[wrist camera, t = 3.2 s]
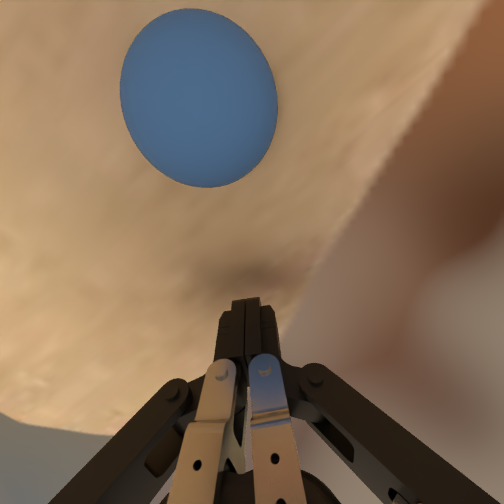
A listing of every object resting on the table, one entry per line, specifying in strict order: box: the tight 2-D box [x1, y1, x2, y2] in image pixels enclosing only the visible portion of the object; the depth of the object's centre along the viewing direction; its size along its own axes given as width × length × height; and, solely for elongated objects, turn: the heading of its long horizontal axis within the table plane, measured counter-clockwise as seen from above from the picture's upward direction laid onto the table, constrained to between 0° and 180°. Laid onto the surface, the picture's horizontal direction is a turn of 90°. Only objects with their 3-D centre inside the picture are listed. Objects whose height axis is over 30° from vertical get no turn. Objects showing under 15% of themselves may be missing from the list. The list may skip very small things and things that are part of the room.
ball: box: [120, 9, 278, 188], centre depth 10 cm, size 6×6×6 cm
